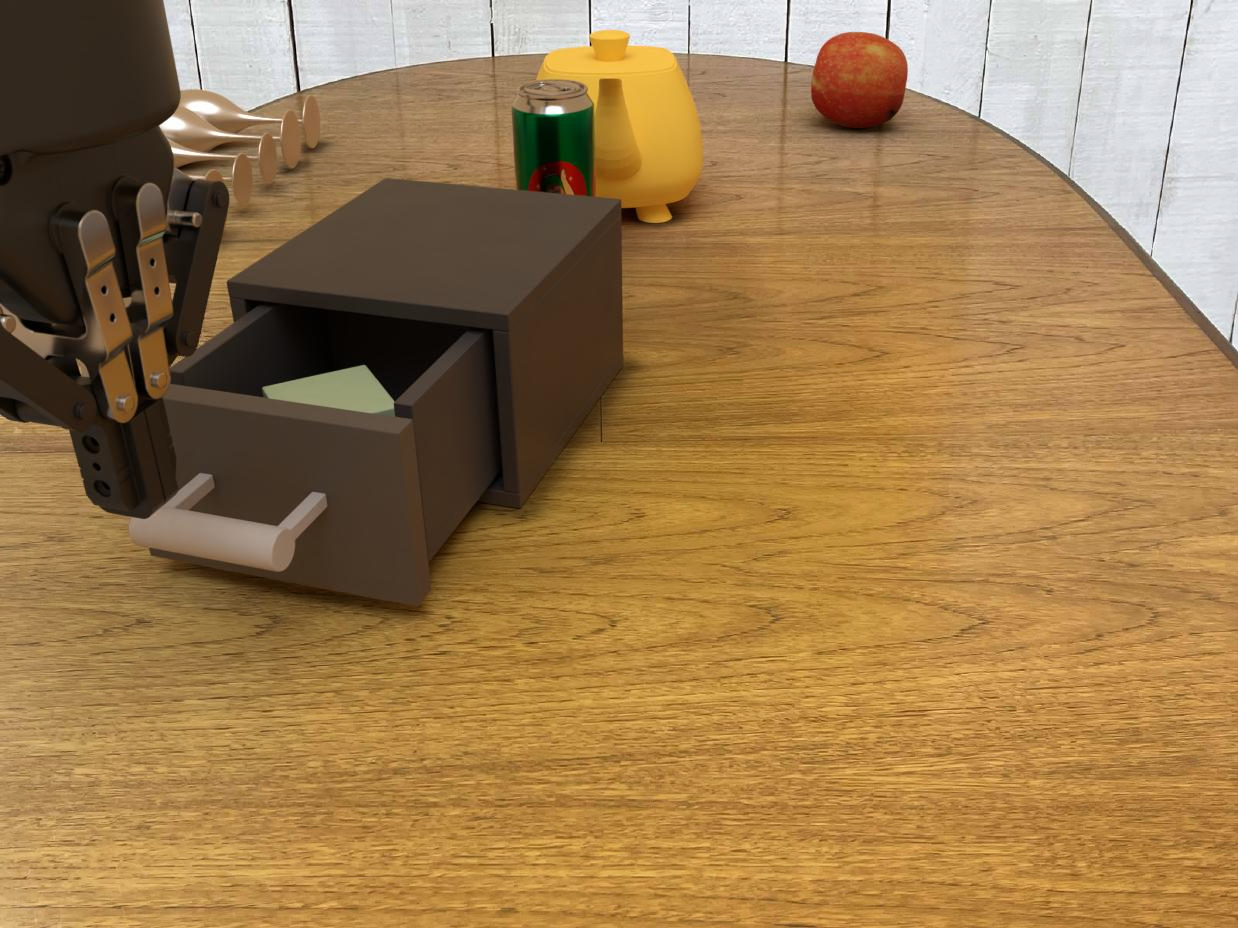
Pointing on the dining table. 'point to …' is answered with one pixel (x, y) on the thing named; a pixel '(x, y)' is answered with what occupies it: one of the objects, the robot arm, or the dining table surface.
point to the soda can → (554, 138)
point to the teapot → (636, 120)
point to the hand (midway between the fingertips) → (138, 504)
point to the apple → (859, 79)
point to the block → (337, 391)
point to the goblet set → (235, 137)
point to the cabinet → (476, 294)
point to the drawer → (327, 451)
